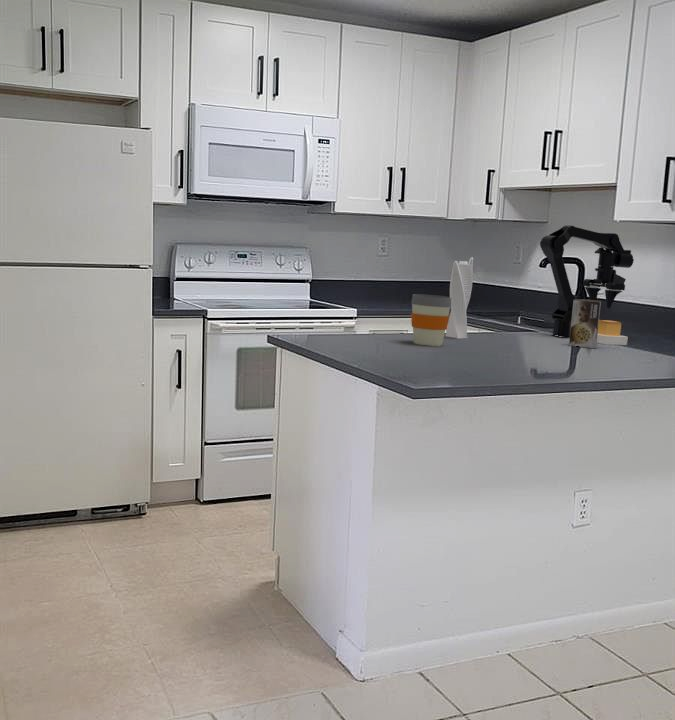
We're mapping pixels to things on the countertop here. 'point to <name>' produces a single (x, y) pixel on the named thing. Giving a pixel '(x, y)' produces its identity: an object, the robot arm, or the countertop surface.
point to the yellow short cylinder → (609, 328)
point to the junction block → (612, 339)
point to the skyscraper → (459, 299)
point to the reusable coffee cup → (429, 318)
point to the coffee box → (584, 323)
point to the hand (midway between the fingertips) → (600, 307)
